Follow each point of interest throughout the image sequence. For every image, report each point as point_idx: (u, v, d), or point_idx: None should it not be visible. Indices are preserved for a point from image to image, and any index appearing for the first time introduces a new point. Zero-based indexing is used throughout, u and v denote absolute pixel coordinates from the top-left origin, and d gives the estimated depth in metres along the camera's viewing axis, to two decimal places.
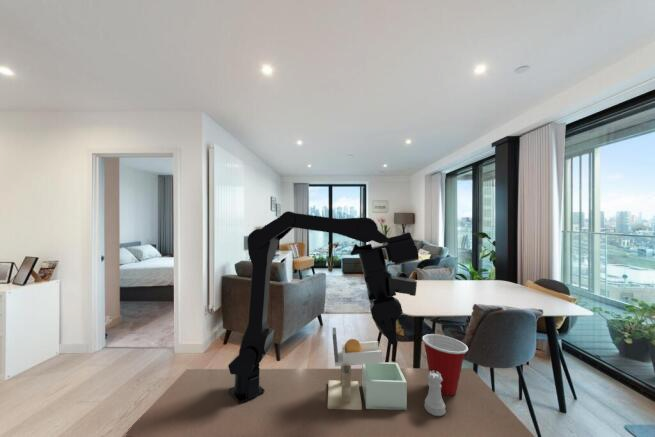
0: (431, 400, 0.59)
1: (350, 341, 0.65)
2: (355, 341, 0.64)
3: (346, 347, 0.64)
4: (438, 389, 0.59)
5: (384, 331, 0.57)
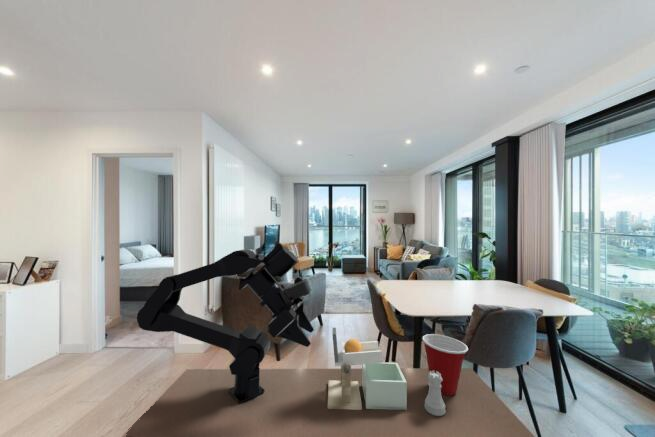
0: (431, 400, 0.59)
1: (350, 341, 0.65)
2: (355, 341, 0.64)
3: (346, 347, 0.64)
4: (438, 389, 0.59)
5: (294, 340, 0.60)
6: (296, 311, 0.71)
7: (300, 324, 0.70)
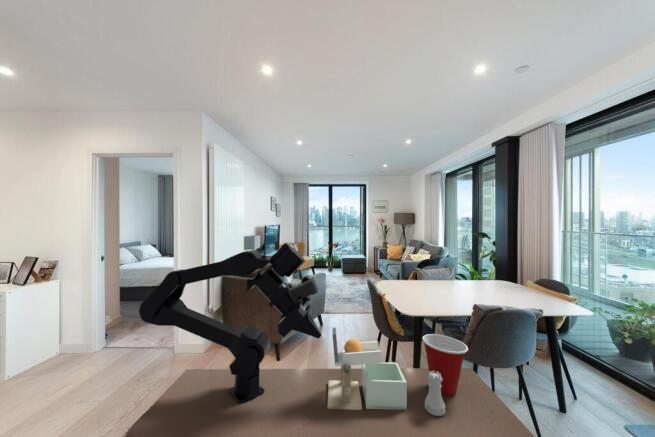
0: (431, 400, 0.59)
1: (350, 341, 0.65)
2: (355, 341, 0.64)
3: (346, 347, 0.64)
4: (438, 389, 0.59)
5: (306, 332, 0.64)
6: None
7: None
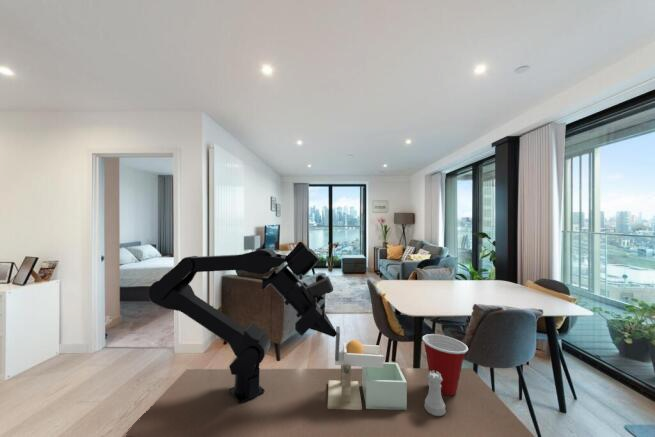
0: (431, 400, 0.59)
1: (353, 342, 0.64)
2: (358, 343, 0.64)
3: (348, 347, 0.64)
4: (438, 389, 0.59)
5: (321, 331, 0.64)
6: None
7: None
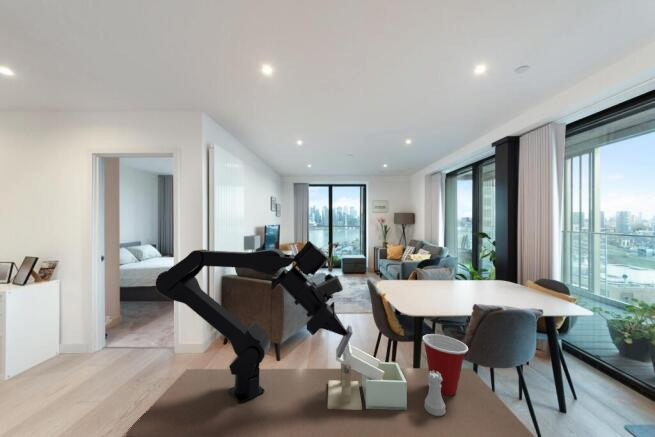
0: (431, 400, 0.59)
1: None
2: None
3: None
4: (438, 389, 0.59)
5: (332, 330, 0.64)
6: None
7: None
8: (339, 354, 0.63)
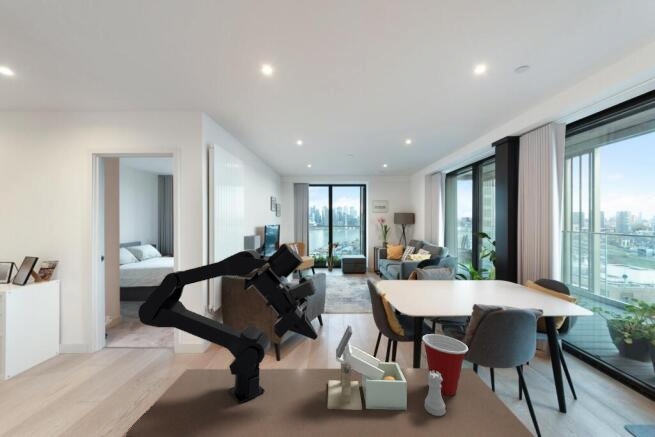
0: (431, 400, 0.59)
1: None
2: None
3: None
4: (438, 389, 0.59)
5: (302, 333, 0.64)
6: None
7: None
8: (339, 354, 0.63)
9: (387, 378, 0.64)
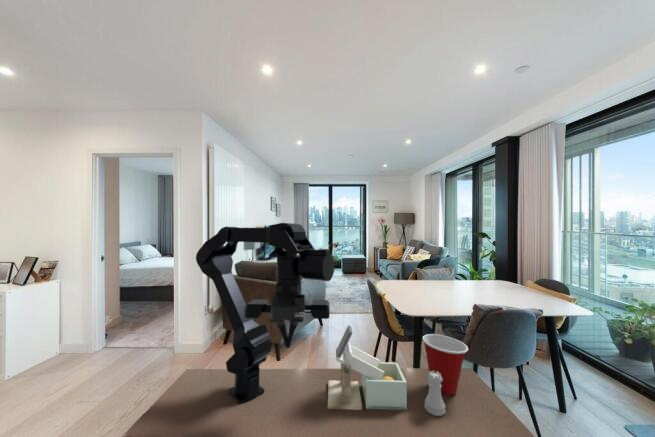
0: (431, 400, 0.59)
1: None
2: None
3: None
4: (438, 389, 0.59)
5: None
6: None
7: None
8: (339, 354, 0.63)
9: (383, 379, 0.64)
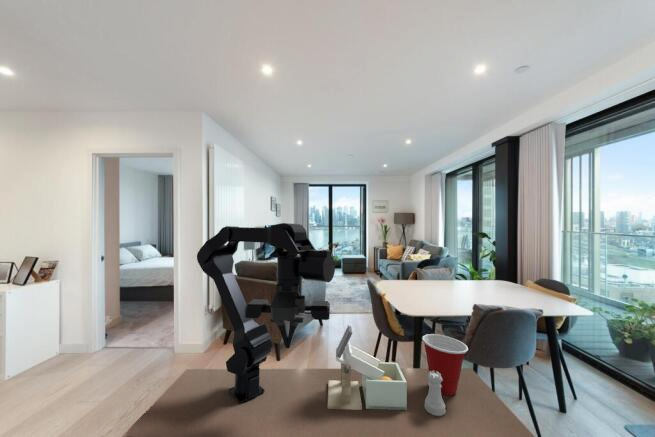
0: (431, 400, 0.59)
1: None
2: None
3: None
4: (438, 389, 0.59)
5: None
6: None
7: None
8: (339, 354, 0.63)
9: None
